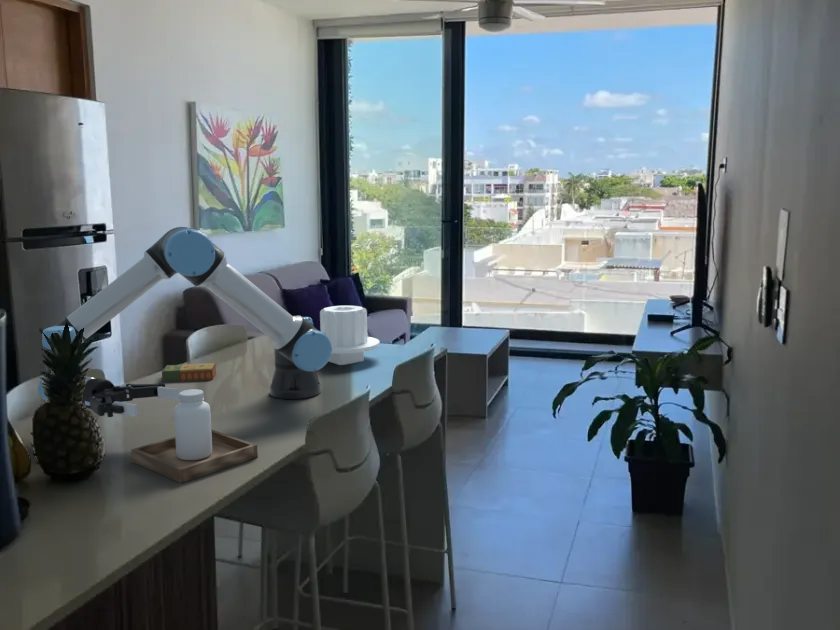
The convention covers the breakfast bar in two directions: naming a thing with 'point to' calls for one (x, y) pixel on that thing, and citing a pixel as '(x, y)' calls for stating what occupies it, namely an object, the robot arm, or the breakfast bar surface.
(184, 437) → the pill bottle
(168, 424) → the breakfast bar surface
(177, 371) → the carton
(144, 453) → the tray
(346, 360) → the flanged gear
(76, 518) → the breakfast bar surface
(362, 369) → the breakfast bar surface
